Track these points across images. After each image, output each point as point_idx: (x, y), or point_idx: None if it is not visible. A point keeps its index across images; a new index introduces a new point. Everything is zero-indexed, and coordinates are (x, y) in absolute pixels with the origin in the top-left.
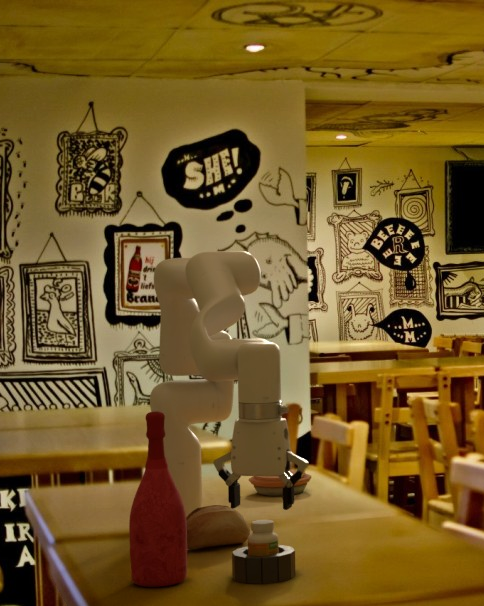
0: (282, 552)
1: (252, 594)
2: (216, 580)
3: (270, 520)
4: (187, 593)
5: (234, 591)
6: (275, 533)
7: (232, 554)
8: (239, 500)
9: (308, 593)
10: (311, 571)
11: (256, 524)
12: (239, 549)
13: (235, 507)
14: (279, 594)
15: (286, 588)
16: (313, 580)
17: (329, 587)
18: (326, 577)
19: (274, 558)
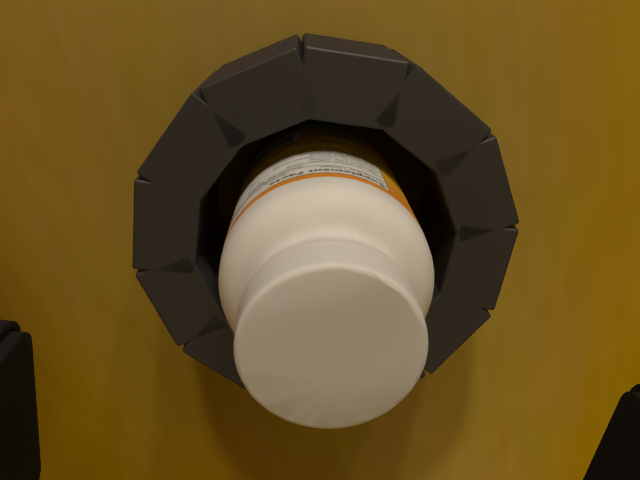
0: (447, 289)
1: (325, 461)
2: (105, 260)
3: (395, 300)
4: (65, 446)
5: (245, 425)
6: (420, 280)
7: (147, 290)
8: (5, 390)
9: (535, 453)
10: (556, 99)
11: (296, 420)
12: (156, 199)
13: (40, 465)
14: (427, 463)
15: (447, 391)
16: (560, 275)
17: (620, 381)
18: (623, 225)
19: None
